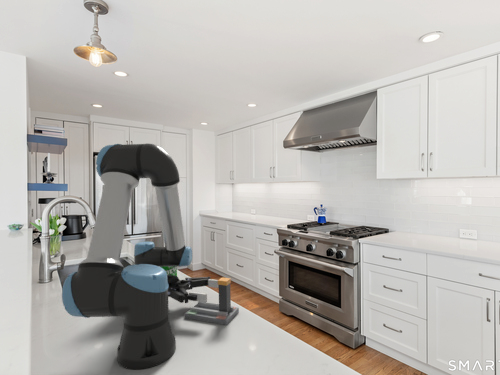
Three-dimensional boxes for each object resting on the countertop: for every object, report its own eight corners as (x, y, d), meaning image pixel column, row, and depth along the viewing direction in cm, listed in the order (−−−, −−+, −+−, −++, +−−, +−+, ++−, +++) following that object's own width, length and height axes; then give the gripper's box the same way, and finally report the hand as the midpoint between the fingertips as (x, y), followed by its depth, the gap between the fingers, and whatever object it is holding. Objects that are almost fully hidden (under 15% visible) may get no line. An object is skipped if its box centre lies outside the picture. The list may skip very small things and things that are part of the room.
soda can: (157, 283, 136) (156, 257, 136) (168, 278, 142) (168, 254, 142) (169, 285, 132) (168, 259, 132) (180, 280, 139) (179, 255, 139)
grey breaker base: (226, 324, 95) (226, 316, 94) (184, 317, 100) (184, 309, 100) (238, 312, 104) (238, 304, 104) (199, 306, 110) (199, 298, 110)
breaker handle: (227, 314, 98) (226, 281, 98) (218, 313, 99) (217, 280, 99) (231, 310, 101) (230, 278, 101) (222, 309, 102) (222, 277, 102)
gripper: (184, 283, 123) (230, 289, 115) (143, 308, 99) (198, 316, 92) (183, 266, 122) (229, 270, 115) (142, 286, 99) (197, 293, 92)
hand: (215, 290), depth 103 cm, fingers open, 13 cm apart
